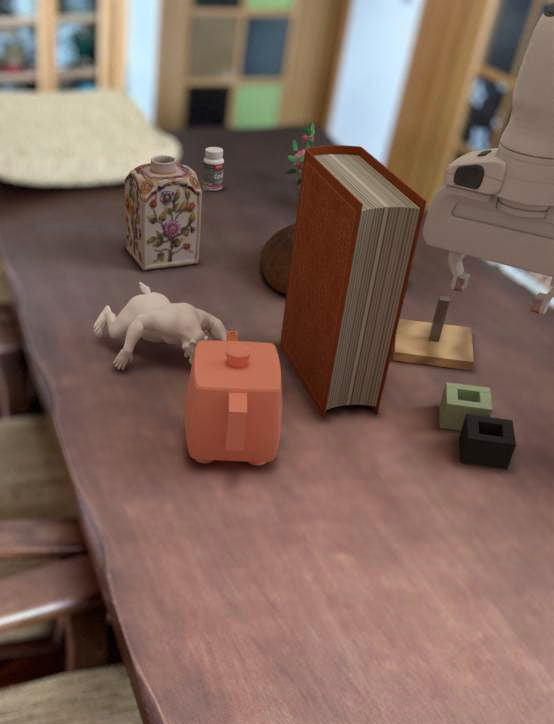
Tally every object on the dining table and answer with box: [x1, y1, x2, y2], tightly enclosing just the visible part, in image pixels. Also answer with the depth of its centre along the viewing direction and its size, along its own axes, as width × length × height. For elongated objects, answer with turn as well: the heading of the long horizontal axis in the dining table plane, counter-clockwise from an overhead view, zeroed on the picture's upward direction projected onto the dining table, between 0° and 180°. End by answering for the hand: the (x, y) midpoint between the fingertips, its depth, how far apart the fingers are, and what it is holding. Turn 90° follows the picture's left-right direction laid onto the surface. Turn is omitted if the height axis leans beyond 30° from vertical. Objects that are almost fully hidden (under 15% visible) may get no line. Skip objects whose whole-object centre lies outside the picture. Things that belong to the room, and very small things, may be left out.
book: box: [279, 144, 427, 420], centre depth 116 cm, size 23×8×30 cm, turn 9°
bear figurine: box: [92, 281, 228, 371], centre depth 128 cm, size 17×14×20 cm
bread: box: [259, 222, 414, 295], centre depth 151 cm, size 28×27×9 cm
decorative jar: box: [124, 154, 203, 272], centre depth 154 cm, size 12×12×18 cm
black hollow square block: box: [458, 414, 517, 471], centre depth 110 cm, size 6×6×4 cm
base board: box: [392, 295, 475, 371], centre depth 130 cm, size 12×12×8 cm
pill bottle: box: [201, 146, 225, 192], centre depth 187 cm, size 5×5×8 cm
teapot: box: [184, 330, 283, 466], centre depth 108 cm, size 22×13×14 cm, turn 177°
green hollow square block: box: [438, 381, 493, 432], centre depth 116 cm, size 6×6×4 cm
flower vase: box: [284, 122, 324, 186], centre depth 181 cm, size 12×12×35 cm
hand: (497, 300), depth 95 cm, fingers open, 8 cm apart
